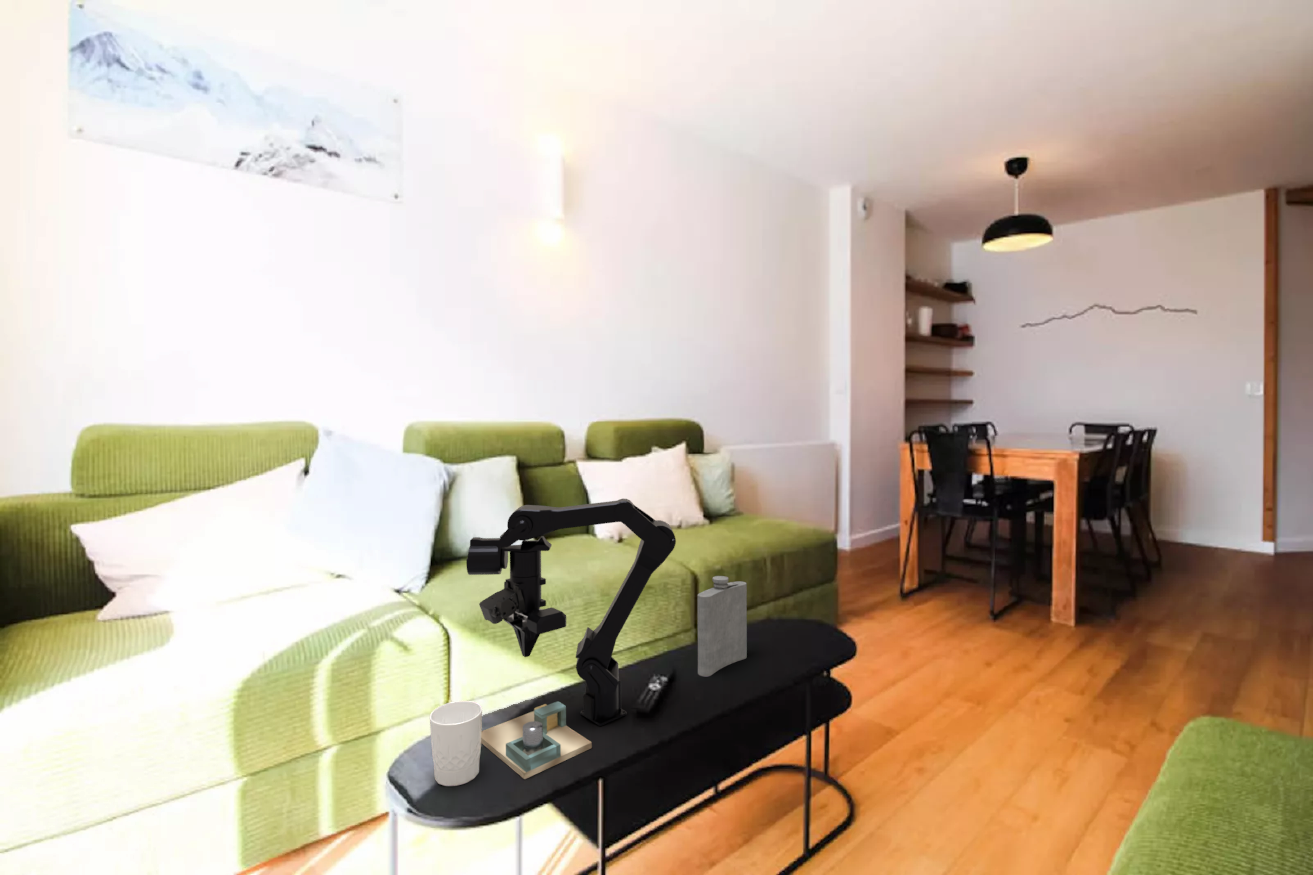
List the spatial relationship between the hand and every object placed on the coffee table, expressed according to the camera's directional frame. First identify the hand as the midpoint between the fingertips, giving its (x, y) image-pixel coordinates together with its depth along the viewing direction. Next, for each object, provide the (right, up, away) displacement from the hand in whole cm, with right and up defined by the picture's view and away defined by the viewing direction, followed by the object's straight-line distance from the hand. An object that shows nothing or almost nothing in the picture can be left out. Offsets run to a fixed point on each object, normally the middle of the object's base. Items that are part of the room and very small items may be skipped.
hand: (526, 656), depth 113 cm
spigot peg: (+4, -11, -14) cm, 19 cm away
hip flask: (+39, -11, +24) cm, 48 cm away
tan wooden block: (+5, -11, -4) cm, 12 cm away
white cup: (-7, -13, -17) cm, 23 cm away
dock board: (+3, -12, -9) cm, 15 cm away
